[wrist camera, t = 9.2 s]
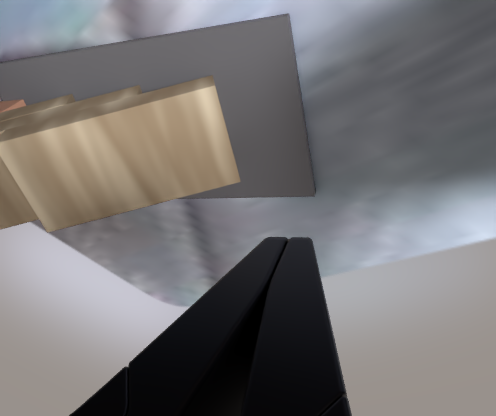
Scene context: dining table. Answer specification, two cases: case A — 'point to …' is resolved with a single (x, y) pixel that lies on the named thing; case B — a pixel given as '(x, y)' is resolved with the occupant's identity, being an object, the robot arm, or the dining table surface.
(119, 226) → the dining table surface
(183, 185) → the domino
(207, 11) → the dining table surface
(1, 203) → the domino
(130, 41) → the rubber mat
